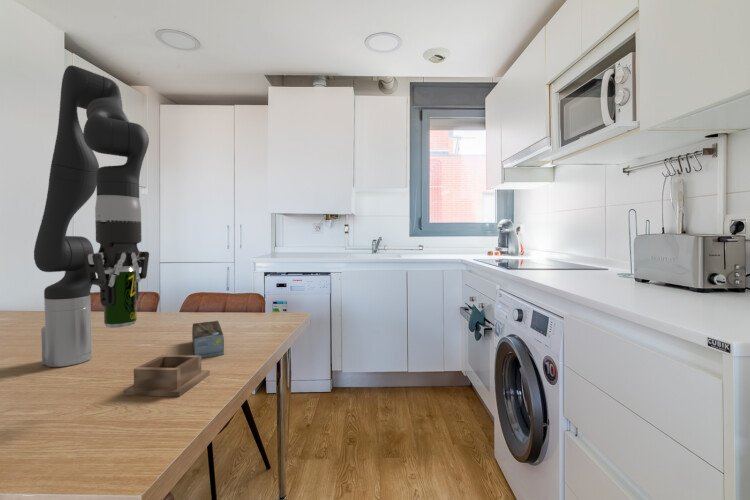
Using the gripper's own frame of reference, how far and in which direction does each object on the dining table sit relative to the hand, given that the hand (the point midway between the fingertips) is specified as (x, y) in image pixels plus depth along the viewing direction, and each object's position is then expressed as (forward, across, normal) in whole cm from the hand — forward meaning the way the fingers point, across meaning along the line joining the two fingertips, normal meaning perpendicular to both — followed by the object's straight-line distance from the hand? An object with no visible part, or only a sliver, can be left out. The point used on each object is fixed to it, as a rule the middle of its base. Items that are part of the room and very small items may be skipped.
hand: (120, 302), depth 72 cm
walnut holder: (+19, -7, +5) cm, 21 cm away
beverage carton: (+20, -34, -1) cm, 39 cm away
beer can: (+5, 0, 0) cm, 5 cm away
